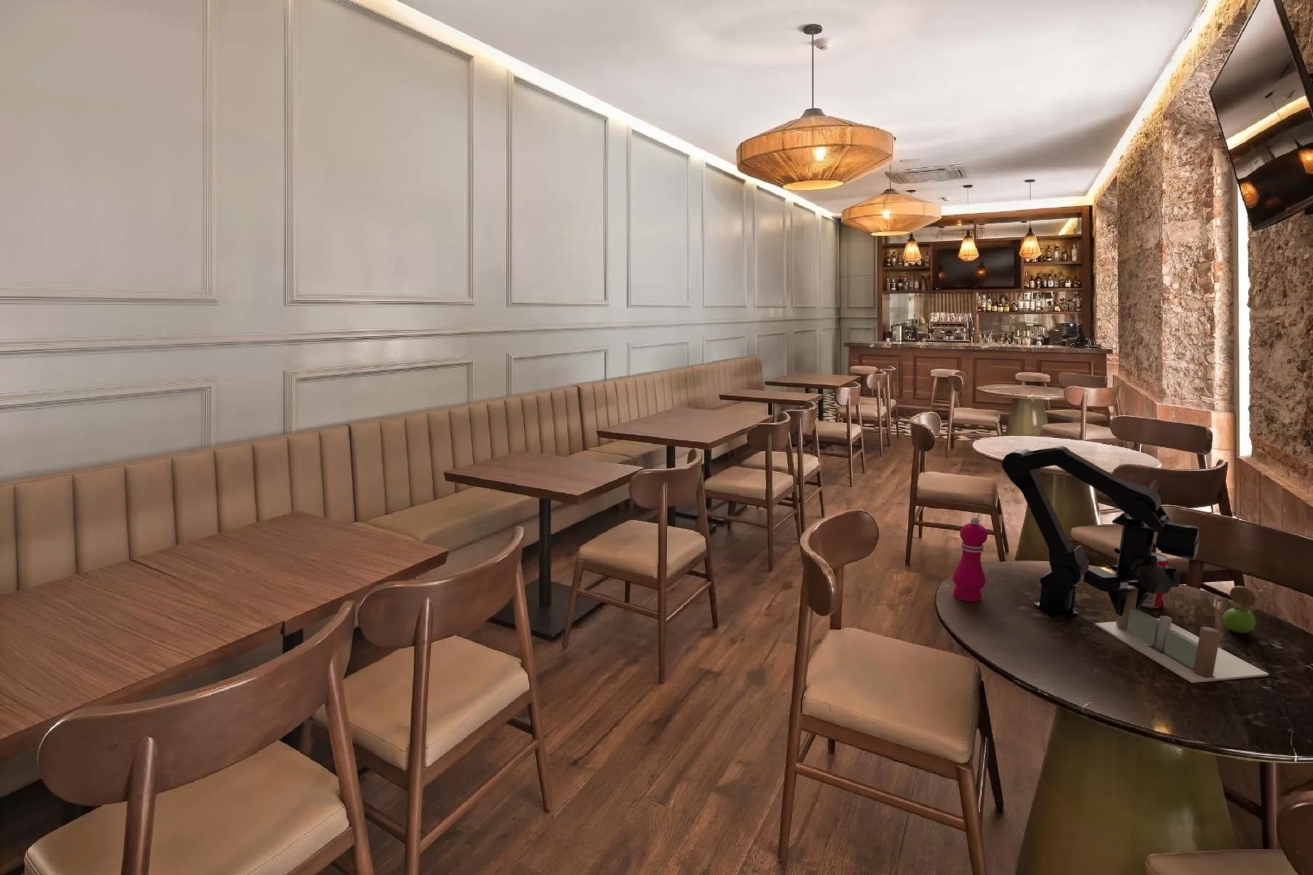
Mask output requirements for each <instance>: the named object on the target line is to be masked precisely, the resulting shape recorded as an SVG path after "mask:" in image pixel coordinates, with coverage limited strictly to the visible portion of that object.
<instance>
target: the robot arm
mask: <svg viewBox="0 0 1313 875" xmlns="http://www.w3.org/2000/svg"><path fill="white" fill-rule="evenodd" d="M1053 466H1055V467H1058V468H1059V469H1061V470H1062V471H1065V472H1066V473H1068V474H1069V475H1071V476H1073V477H1075V478H1076V479H1078V480H1080V481H1082V482H1083V483H1085V484H1087V485H1088V486H1090V487H1091V488H1094V489H1095V490H1097V491H1099V492H1101V493H1102V494H1104V495H1105V496H1106V497H1108V498H1109V499H1110V500H1111V501H1112V503H1113V504H1114V505H1115V506H1116V507H1117V508H1119V509H1120V511H1123V512H1122V513H1121V514H1120V515H1118V516H1116V517H1115V518H1114V519H1113V520H1111V522H1112V523H1111V524H1114V525H1118V526H1119V525H1120V526H1122V529H1121V536H1120V542H1119V547H1117V546H1116V547H1114V553H1115V554H1117V555H1118V557H1117V564H1112V566H1111V570H1112V571H1114V572H1116V573H1111V572H1110V571H1107V570H1105V569H1103V568H1098V569H1097V568H1095V569H1089V568H1090V567H1089V563H1090V559H1089V558H1088V557H1087V556H1086V554H1085V551H1084V547H1083V546H1082V545H1077V546H1075V545H1074V544H1073V543H1071V542H1070V540H1069V539H1068V537H1067V535H1066V533H1065V530H1064V528H1063V526H1062V524H1061V521H1060V519H1059V518H1058V516H1057V513H1056V511H1055V509H1054V507H1053V505H1052V503H1051V501H1050V499H1049V497H1048V495H1047V493H1046V490H1045V489H1044V486H1043V484H1042V479H1041V469H1044V468H1047V467H1053ZM1001 467H1002V468H1001V469H1002V470H1003V471H1004V473H1005V475H1006V476H1007V478H1008V479H1009V480H1010V482H1012V483H1013V484H1014V485H1015V487H1016V488H1018V489H1019V490H1020V492H1021V493H1022V495H1023V497H1024V500H1025V502H1026V504H1027V506H1028V508H1029V511H1030V512H1031V514H1032V517H1033V519H1034V521H1035V523H1036V526H1037V528H1038V529H1039V531H1040V532H1039V533H1040V534H1041V536H1042V538H1043V540H1044V542H1045V544H1046V546H1047V550H1048V561H1049V567H1050V570H1049V571H1047V572H1046V573H1045V574H1044V575H1043V576H1041V577H1040V578H1039V580H1040V581H1039V582H1040V585H1041V586H1040V587H1041V588H1040V596H1039V602H1038V601H1037V602H1034V604H1033V605H1034V606H1035V607H1037V608H1038V609H1040V610H1042V611H1043V612H1045V613H1046V614H1048V615H1049V616H1051V617H1064V616H1067V617H1068V616H1076V615H1078V611H1076V610H1074V609H1075V603H1076V595H1077V592H1076V586H1075V585H1077V584H1078V583H1079V582H1080V581H1081V580H1082V579H1083V580H1082V582H1084V583H1085V584H1088V585H1090V586H1091V587H1093V588H1095V589H1097V590H1098V591H1102V592H1107V594H1108V596H1109V599H1110V602H1111V604H1112V607H1113V609H1114V612H1115V614H1116V616H1117V615H1119V616H1122V614H1123V611H1124V606H1125V601H1126V596H1127V595H1128V594H1130V593H1131V592H1132V591H1131V590H1129V589H1127V587H1128V585H1130V586H1134V587H1136V588H1138V595H1137V601H1136V608H1137V609H1138V610H1140V609H1141V608H1142V607H1143V606H1142V604H1143V602H1144V601H1145V599H1146V598H1147V597H1148V595H1149V594H1151V593H1152V594H1157V593H1166V594H1168V593H1169V592H1170V591H1171V589H1172V588H1176V587H1177V588H1179V586H1180V581H1181V570H1180V569H1178V568H1177V567H1170V568H1165V567H1162V566H1160V565H1157V558H1156V555H1153V554H1152V552H1153V547H1154V541H1155V548H1157V550H1158V551H1160V554H1163V555H1164V554H1165V555H1170V556H1175V557H1179V558H1183V559H1188V560H1193V561H1195V560H1196V558H1197V555H1198V552H1199V547H1200V541H1201V540H1200V527H1199V526H1198V525H1192V524H1189V525H1188V524H1183V523H1176V522H1172V521H1171V519H1170V517H1169V515H1168V514H1167V512H1166V511H1165V509H1164V507H1163V506H1162V499H1161V496H1160V494H1159V493H1158V492H1157V491H1156V490H1154V489H1152V488H1150V487H1147V486H1144V485H1141V484H1139V483H1136V482H1132V481H1129V480H1125V479H1122V478H1119V477H1118V476H1115V475H1114V474H1112V473H1111V472H1109V471H1107V470H1105V469H1103V468H1101V467H1099V466H1098V465H1097V464H1094V463H1093V462H1091V461H1090V460H1087V459H1086V458H1084V457H1082V456H1080V455H1078V454H1077V453H1074V452H1073V451H1071V450H1070V449H1069V448H1068V447H1066V446H1065V445H1057V446H1054V447H1049V448H1040V449H1035V450H1030V449H1027V448H1020V449H1016V450H1014V451H1012V452H1010V453H1007V454H1006V455H1005V456H1004V457H1003V459H1002V461H1001ZM1170 521H1171V522H1170ZM1155 533H1157V534H1156V539H1155Z"/></svg>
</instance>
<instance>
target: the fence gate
mask: <svg viewBox="0 0 1313 875" xmlns="http://www.w3.org/2000/svg"><path fill="white" fill-rule="evenodd" d="M1127 589H1129V590H1131V591H1132V592H1131V593H1130V594H1128V595H1127V596H1126V601H1125V606H1124V611H1123V614H1122V616H1119V615H1117V614H1116V621H1115V622H1116V626H1118V627H1119V628H1122V629H1127V630H1129V631H1130V632H1132V633H1134V634H1136V635H1137V636H1139V637H1141V638H1143V639H1144V640H1146V641H1148V642H1150V643H1151V644H1153V645H1156V639H1157V633H1158V626H1159V620H1157V618H1156V617H1153V616H1151V615H1150V614H1148V613H1146V612H1144V611H1142V610H1140V609H1139V610H1138V609H1137V608H1136V601H1137V595H1138V588H1136V587H1134V586H1130V585H1128V587H1127Z"/></svg>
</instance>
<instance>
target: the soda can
mask: <svg viewBox="0 0 1313 875" xmlns="http://www.w3.org/2000/svg"><path fill="white" fill-rule="evenodd" d="M1152 554H1153V555H1156V558H1157V565H1160V566H1162V567H1165V568H1171V565H1170V563H1169V557H1168V556H1166V555H1164V554H1163V553H1157V552H1153V551H1152ZM1166 598H1167V593H1157V594H1152V593H1151V594H1149V595H1148V597H1147V598H1146V599H1145V601H1144V602H1143V604H1142V606H1141V607H1144V608H1148V609H1157V608H1160V607H1163V606H1164V605H1165V601H1166Z"/></svg>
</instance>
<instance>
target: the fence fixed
mask: <svg viewBox="0 0 1313 875" xmlns="http://www.w3.org/2000/svg"><path fill="white" fill-rule="evenodd" d="M1159 618H1160V620H1159V626H1158V633H1157V639H1156V645H1155V648H1156V649H1157V650H1160V651H1164V653H1166V654H1168V655H1170V656H1171V657H1173V658H1175V659H1176V660H1178V661H1180V662H1182V663H1183V664H1185V665H1187V666H1189V667H1190V668H1192V669H1194V670H1193V672H1194V673H1195V674H1197V675H1199V676H1202V677H1203V676H1204V677H1213V673H1214V667H1215V662H1216V656H1217V651H1218V648H1219V644H1220V639H1221V631H1220V630H1218V629H1216V628H1213V627H1209V626H1202V627H1200V630H1199V631H1200V632H1199V636H1198V637H1199V641H1198V643H1197V642H1195V641H1193V640H1191V639H1189V638H1187V637H1186V636H1184V635H1182V634H1180V633H1178V632H1176V631H1174V630H1170V629H1171V623H1172V621H1173V618H1172V617H1170V616H1168V615H1160V616H1159Z"/></svg>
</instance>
